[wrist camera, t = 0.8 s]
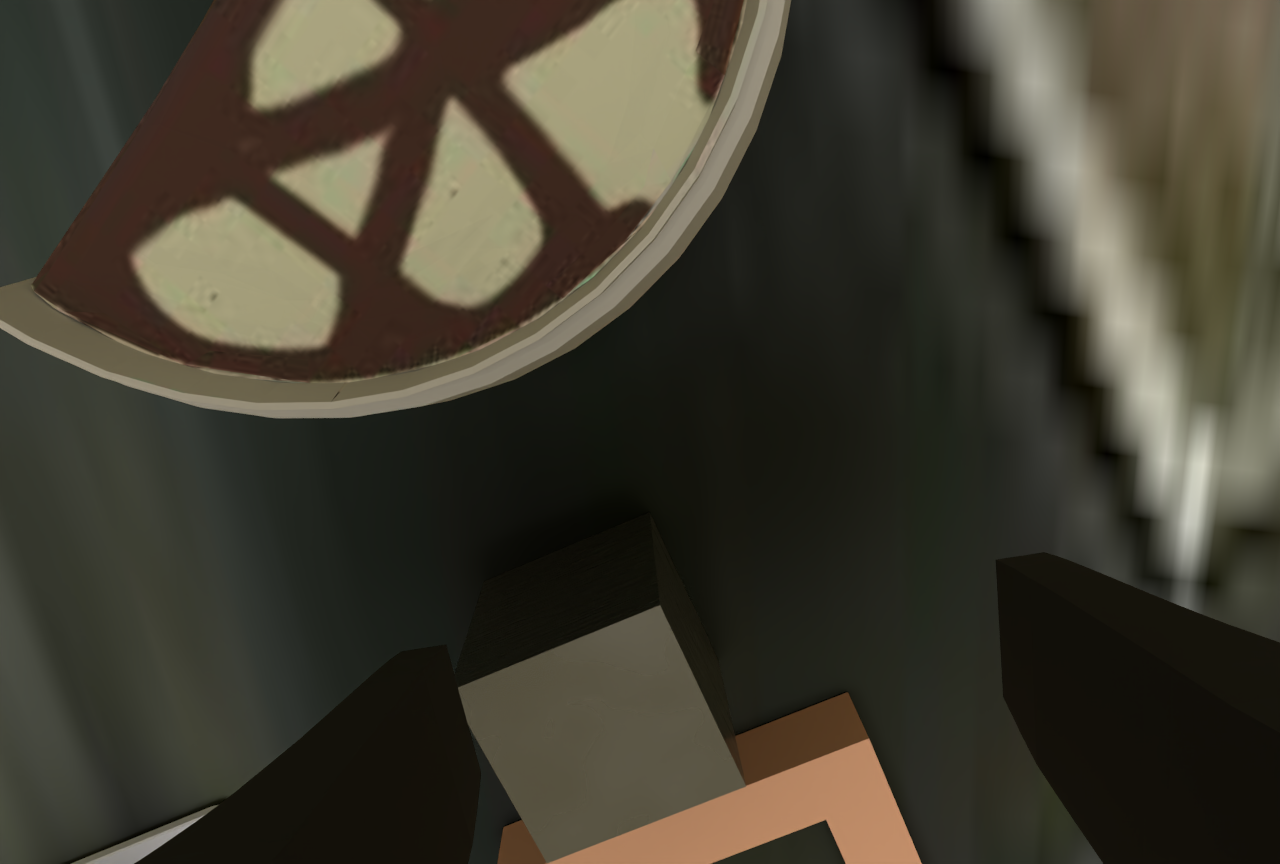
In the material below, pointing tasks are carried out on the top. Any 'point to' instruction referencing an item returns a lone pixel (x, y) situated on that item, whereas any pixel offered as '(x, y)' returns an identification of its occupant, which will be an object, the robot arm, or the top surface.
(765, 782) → the hole plate
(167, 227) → the food container
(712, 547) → the top surface
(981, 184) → the top surface
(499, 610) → the steel block
